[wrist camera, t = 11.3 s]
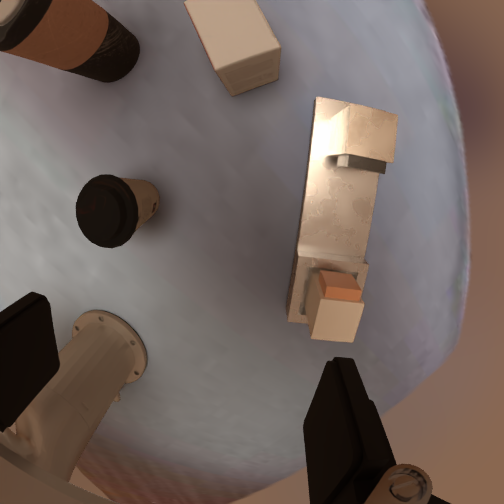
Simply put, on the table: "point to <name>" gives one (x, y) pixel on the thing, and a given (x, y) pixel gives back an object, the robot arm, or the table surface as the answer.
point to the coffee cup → (114, 208)
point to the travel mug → (68, 37)
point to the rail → (339, 193)
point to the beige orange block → (332, 305)
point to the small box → (236, 42)
